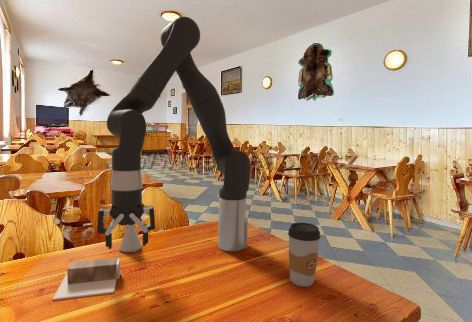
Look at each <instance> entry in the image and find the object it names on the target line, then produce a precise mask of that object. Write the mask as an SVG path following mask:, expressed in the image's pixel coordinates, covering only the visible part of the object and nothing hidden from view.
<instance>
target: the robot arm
mask: <svg viewBox="0 0 472 322" xmlns="http://www.w3.org/2000/svg"><path fill="white" fill-rule="evenodd" d="M200 39H201V31H200V28H199V25H198V24H197V23H196V21H195V20H194V19H192V18H191V17H188V16H180V17H176V18H175V19H174V20H172V21H171V22H170V23H168V25H165V27H163V29H162V30H161V33H160V43H161V46H162V48H161V50H160V51H159V52H158V54H157V55H156V56H155V57H154V59H153V60H152V61H151V62H150V63H148V65H147V67H146V68H145V69H144V70H143V71H142V72H141V74H140V75H139V77H138V78H137V79H136V80H135V82H134V84H133V86H132V87H131V89H130V91H129V92H128V93H127V94H126V95H125V96H124V97H122V99H121V100H120V101H119V102H118V103H117V104H116V105H115V106H114V107H113V108H112V110H111V111H110V112H109V114H108V115H107V118H106V119H107V120H106V126H107V130H108V131H109V133H111V135H113V136H116V137H118V138H119V143H118V146H117V147H115V148H113V150H112V154H111V179H110V180H111V181H110V182H111V183H110V189H111V190H110V191H111V192H110V193H111V195H110V196H111V208H110V209H104V208H100V209H99V210H98V213H97V228H96V229H97V231H96V232H97V234H98V235H99V234H103V235H104V236H105V247H106V248H107V249H108V250H112V248H113V233H112V232H113V231H114V230H115V229H116V227H117V226H118V225H119V226H121V227H122V226H126V225H133V224H136V225H137V226H138V227H139V228H140V229H141V231H142V247H146V244H148V243H149V233H150V232H151V231H154V230H155V229H156V220H155V206H153V205H151V206H149V207H145V208H144V207H143V177H142V175H143V174H142V166H141V165H142V158H141V156H142V155H141V153H142V150H143V147H144V142H145V139H146V133H147V121H146V119H145V116H144V115H143V113H145V112H147V111H149V110H152V109H153V107H154V106H155V104H156V103H157V101H158V99H159V98H160V97H161V95H162V93H163V92H164V90H165V88H166V86H167V85H168V84H169V82H170V80H171V78H172V77H173V76H174V73H176V74H177V76H178V77H179V80H180V82H181V85H182V86H183V89H184V92H185V93H186V96H187V97H188V100H189V102H190V105H191V107H192V109H193V112H194V114H195V116H196V118H197V120H198V122H199V124H200V127H201V129H202V131H203V133H204V136H205V137H206V140H207V141H208V144H209V147H210V149H211V150H210V151H211V152H212V155H213V158H214V159H213V160H214V161H215V165H216V168H217V169H218V171H219V172H220V173H221V175H223V176H224V177H223V186H222V187H221V188H220V189H219V190H218V227H217V230H218V231H217V232H218V233H217V234H218V236H217V237H218V238H217V242H218V243H217V244H218V245H217V247H218V249H220V250H221V251H225V252H240V251H242V250H244V249H247V248H248V227H249V226H248V224H249V223H248V220H247V217H246V216H247V193H248V191H249V188H250V177H251V161H250V158H249V156H248V154H247V153H246V152H245V151H242V150H237V149H235V146H234V144H233V143H232V141H231V138H230V136H229V133H228V130H227V116H226V111H225V107H224V104H223V101H222V99H221V97H220V94H219V91H218V90H217V88H216V87H215V86H214V85H213V83H212V82H211V81H210V80H209V79H208V78H207V77H206V76H205V75H204V74H203V73H202V72H201V71H200V70H199V67H197V65H196V63H195V61H194V58H193V56H192V51H193V50H194V49H196V47H197V46H198V44H199V43H200ZM144 214H146V216H148V217H149V224H146V223H145V222H144V219H142V216H143V215H144ZM108 215H110V217H111V218H112V219H113V220H112V221H111V223H110V224H109V225H108V227H105V219H106V218H108Z"/></svg>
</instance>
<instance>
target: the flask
mask: <svg viewBox="0 0 472 322" xmlns="http://www.w3.org/2000/svg"><path fill="white" fill-rule="evenodd" d="M135 224H136V223H135ZM135 224H133V225H125V231H124V235H123V238H122V240H121V243H120V245H119V249H118V251H119V252H123V253H133V252H134V253H135V252H137V251H139V250H141V249H142V247H143V243H142V242H141V240H140V238H139V235H138V232H137V229H136V225H135Z"/></svg>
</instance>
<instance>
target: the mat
mask: <svg viewBox="0 0 472 322" xmlns="http://www.w3.org/2000/svg"><path fill="white" fill-rule="evenodd" d="M117 280H118V279H113V280H104V281H95V282H86V283H77V284H68V277H67V273H66V274H65V276H64V277H63V279H62V281H61V283H60V284H59V287H58V288H57V290H56V291H55V293H54V295H53V298H52V301H57V300H66V299H74V298H83V297H90V296H98V295H104V294H106V295H107V294H113V293H115V289H116V286H117V285H116V283H117Z"/></svg>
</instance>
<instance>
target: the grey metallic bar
mask: <svg viewBox="0 0 472 322" xmlns="http://www.w3.org/2000/svg"><path fill="white" fill-rule="evenodd" d="M66 271H67V272H66V274H67V277H68V284H77V283H86V282H95V281H104V280H113V279H117V280H119V279H120V276H121V257H116V258H115V257H114V258H104V259H103V258H102V259H93V260H91V259H90V260H81V261H72V262H70V263H69V265H68V267H67V268H66Z"/></svg>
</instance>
